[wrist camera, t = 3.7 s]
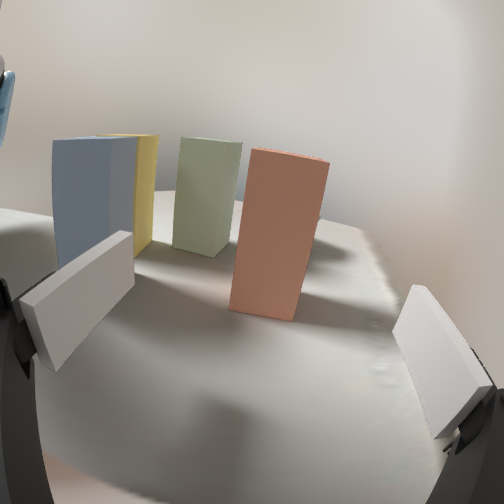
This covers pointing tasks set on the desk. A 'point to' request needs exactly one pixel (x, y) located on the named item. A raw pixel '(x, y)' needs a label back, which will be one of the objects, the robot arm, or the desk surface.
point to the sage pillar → (205, 194)
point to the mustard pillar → (143, 189)
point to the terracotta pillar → (276, 231)
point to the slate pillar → (91, 191)
